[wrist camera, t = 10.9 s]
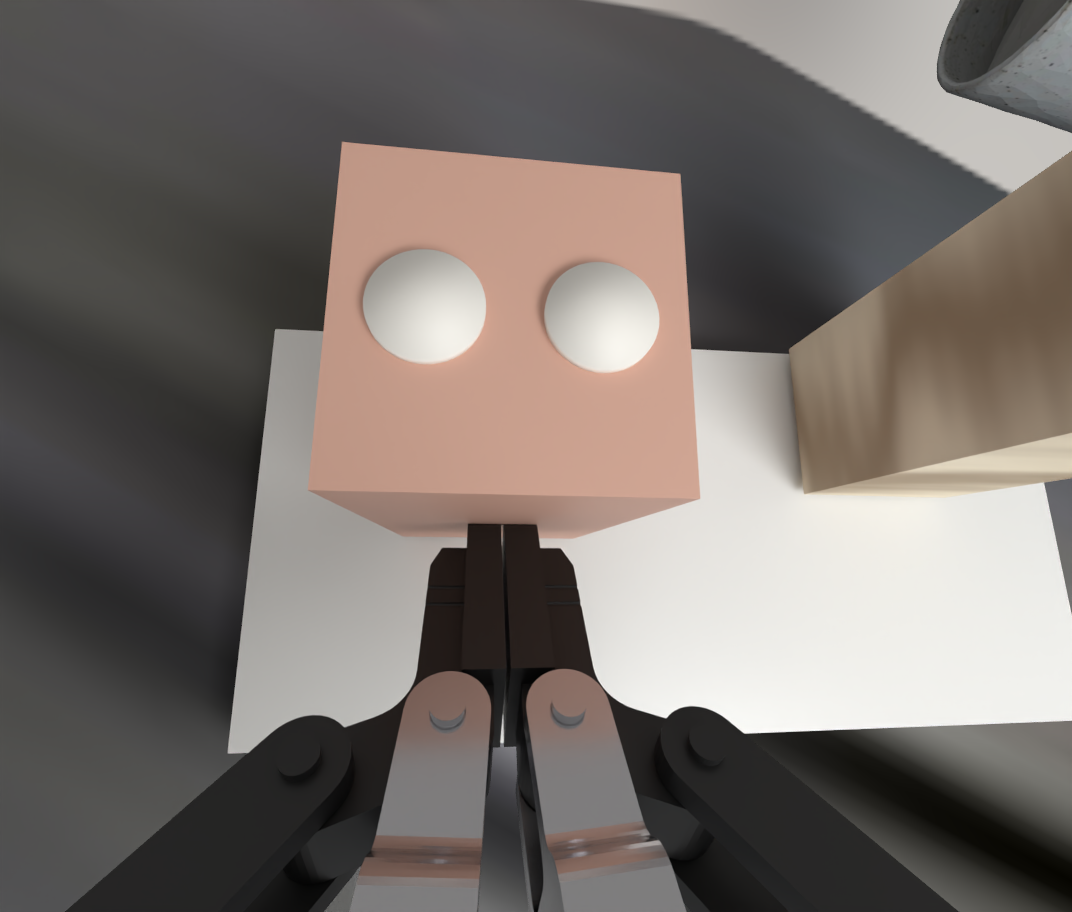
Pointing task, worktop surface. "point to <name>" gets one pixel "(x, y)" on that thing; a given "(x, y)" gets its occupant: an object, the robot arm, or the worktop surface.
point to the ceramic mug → (1011, 57)
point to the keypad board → (682, 586)
